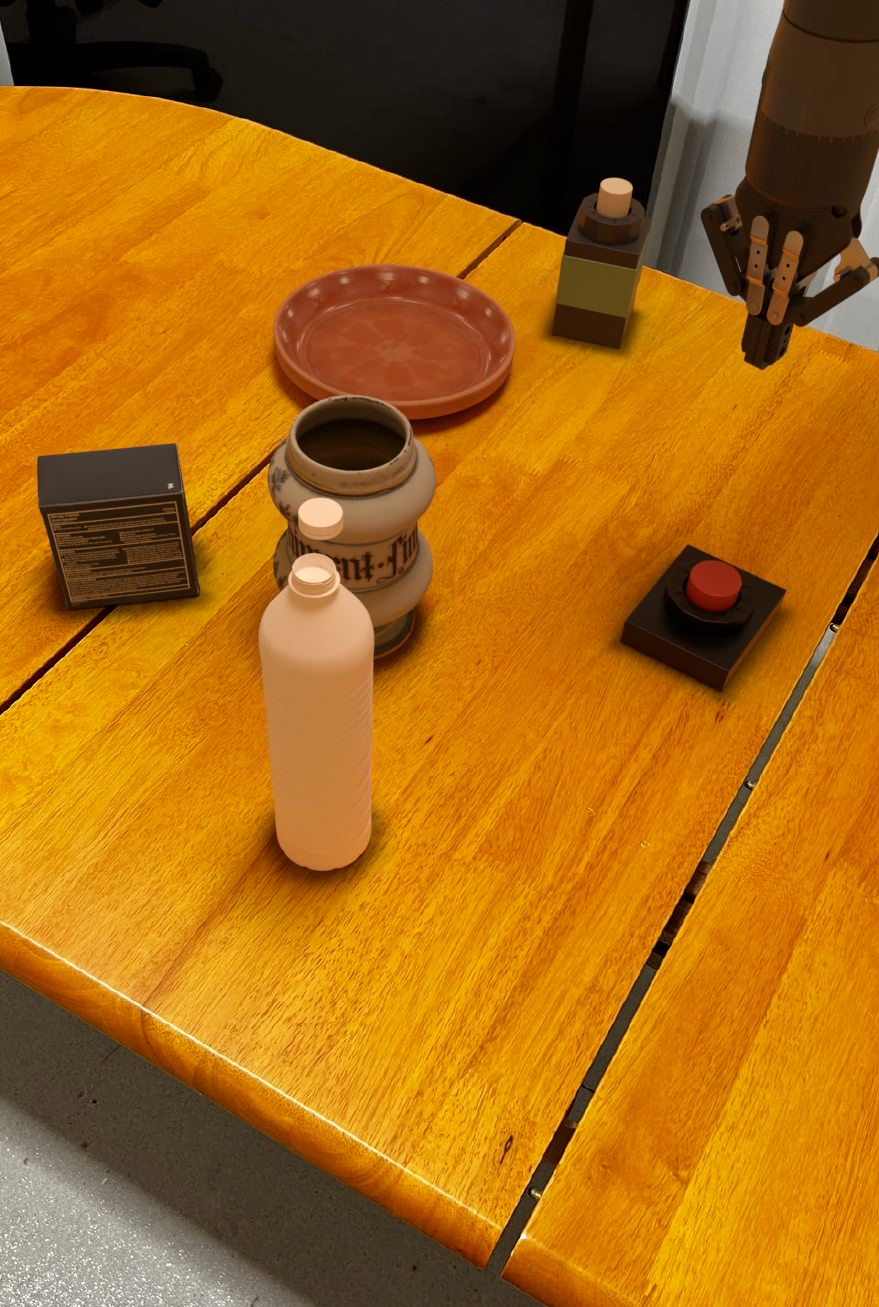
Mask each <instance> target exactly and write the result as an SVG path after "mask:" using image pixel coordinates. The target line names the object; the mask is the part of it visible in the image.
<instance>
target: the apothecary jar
mask: <svg viewBox="0 0 879 1307" xmlns="http://www.w3.org/2000/svg"><path fill="white" fill-rule="evenodd" d="M409 420H410V419H409ZM409 420H408V419H407V418H406V416H405V415H404V414H403V413H402V412H400V411H399V410H398V409H397V408H395V407H394V406H392V405H391V404H389V403H387V402H385V401H382V400H379V399H376V398H372V397H368V396H361V395H341V396H335V397H330V398H327V399H324V400H321V401H319V400H317V401H315V402H314V403H312V404H310V405H309V406H307V407H305V408H304V409H303V410H301V411H300V413H298V414H297V415H296V417H295V418H294V419H293V421H292V424H291V426H290V429H289V432H288V433H289V434H288V435H286V437H285V438H284V439H283V440H282V441H281V442H280V443H279V444H278V446H277V447H276V449H275V451H273V452H274V453H273V454H272V455H271V459H270V461H269V465H268V468H267V469H268V470H267V487H268V491H269V492H268V493H269V495H270V498H271V501H272V502H273V504H274V506H275V508H276V509H277V510H278V512H279V513H280V514H281V516H283V518H284V519H285V520H287V528H286V529H285V530H284V531H283V533H282V534H281V535H280V538H278V541H277V544H276V546H275V549H274V552H273V559H272V569H273V575H274V579H275V583H276V585H277V587H278V589H279V591H280V592H281V591H282V590H283V589H284V588H285V587H287V586H288V585H289V582H288V578H289V575H290V573H291V571H292V569H293V568H292V566H293V564H294V562H295V561H296V560H297V559H298V558H299V557H301V556H303V555H306V554H312V553H316V554H322V555H325V556H327V557H328V558H330V559H331V560H332V561H333V563H334V564H335V567H336V570H337V572H338V573H339V576H340V584H342V585H343V586H344V587H345V588H346V589H347V590H349V591H350V592H351V593H352V594H353V595H354V596H356V597H357V598H358V599H359V601H360V602H361V603H362V604H363V605H364V607H365V608H366V609H367V611H368V613H369V615H370V619H371V622H372V625H373V630H374V654H373V661H374V660H377V659H382V658H384V657H386V656H388V655H390V654H392V653H394V652H396V651H397V650H398V649H399V648H401V647H402V646H403V645H404V644H405V643H406V642H407V641H408V639H409V638H410V636H411V634H412V632H413V630H414V626H415V621H416V619H415V618H416V613H415V607H416V606H417V605H418V604H419V603H420V602H421V601H422V600H423V598H424V596H425V595H426V593H427V592H428V589H429V587H430V585H431V582H432V578H433V572H434V560H433V554H432V551H431V547H430V544H429V543H428V541H427V539H426V537H425V535H424V534H423V533H422V532H421V530H420V529H419V528H418V527H419V526H418V523H419V522H418V521H419V519H421V517H423V515H424V514H425V513H426V512H427V510H428V509H429V507H430V505H431V504H432V503H433V502H432V501H433V499H434V497H435V493H436V489H437V488H436V487H437V473H436V469H435V468H436V467H435V465H434V462H433V459H432V456H431V455H430V453H429V451H428V449H427V448H426V447H425V446H424V445H423V443H422V442H421V441H420V440H419V439H418V438H417V437H416V436H415V435H414V432H413V427H412V425H411V422H410V421H409ZM314 498H327V499H331V500H333V501H335V502H337V503H338V504H339V505H340V506H341V508H342V510H343V529H342V531H341V532H340V533H339V534H338V535H337V536H335V537H333V538H331V539H327V540H315V539H311V538H309V537H307V536H305V535H304V534H303V533H302V532H301V531H300V529H299V524H298V510H299V508H300V506H301V505H302V504H303V503H304V502H306V501H308V500H310V499H314ZM308 534H309V533H308ZM311 535H312V534H311ZM330 535H331V534H330ZM316 536H317V535H316ZM325 536H327V535H325Z"/></svg>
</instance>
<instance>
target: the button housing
mask: <svg viewBox="0 0 879 1307" xmlns="http://www.w3.org/2000/svg"><path fill="white" fill-rule="evenodd" d="M711 560H712V561H720V562H723V563H726V564H728V565H730V566H732V567H733V568H734V569H735V570H736V571H737V572H738V573H739V575H740V576H741V580H742V585H741V588H740V591H739V594H738V597H737V600H736V602H735V604H734V605H733V606H732V607H731V608H730V609H728V610H726V611H722V612H716V611H706V610H704V609H702V608H700V607H698V606H696V605H694V604H692V603H691V601H690V600H689V599H688V597H687V595H686V586H687V583H688V580H689V576H690V573H691V570H692V569H693V567H694V566H695V565H697V564H698V563H700V562H703V561H711ZM786 594H787V589H785V588H783V587H781V586H779V585H777V584H775V583H773V582H770V581H768V580H766V579H764V578H762V577H759V576H757V575H755V574H753V573H751V572H749V571H747V570H745V569H742V568H740V567H738V566H736V565H734V564H732V563H730V562H727V561H725V560H723V559H721V558H719V557H717V556H715V555H712V554H710V553H709V552H706V551H704V550H702V549H699V548H697V547H695V546H693V545H691V544H689V543H688V544H686V546H685V547H684V548H683V549H682V551H681V552H680V553H679V554H678V555H677V556H676V558H675V559H674V560H673V561H672V562H671V564H670V565H669V566H668V568H667V569H666V570H665V571H664V573H663V574H662V575H661V576H660V577H659V578H658V579H657V581H656V582H655V583H654V585H653V586H652V587H651V588H650V590H649V591H648V592H647V593H646V594H645V596H644V597H643V598H642V600H640V602H639V603H638V604H637V606H635V608H634V609H633V610H632V612H631V613H630V614H629V615H628V617H627V618H626V619H625V620H624V625H623V628H622V631H621V636H620V640H619V642H620V643H622V644H624V645H626V646H628V647H630V648H632V649H634V650H636V651H638V652H640V653H642V654H644V655H646V656H648V657H650V658H652V659H653V660H656V661H657V662H660V663H661V664H664V665H666V666H668V667H670V668H672V669H674V670H676V671H677V672H679V673H682V674H684V675H686V676H688V677H690V678H691V679H694V680H696V681H698V682H700V683H702V684H704V685H705V686H707V687H710V688H712V689H713V690H716V691H718V692H720V693H722V692H723V691H724V689H725V688H726V687H727V685H728V683H730V681H731V679H732V678H733V676H734V675H735V673H736V672H737V671H738V669H739V668H740V667H741V665H742V664H743V662H745V659H746V658H747V657H748V655H749V654H750V652H751V651H752V649H753V648H754V647H755V646H756V644H757V642H758V641H759V640H760V639H761V637H762V635H763V634H764V632H765V631H766V630H767V628H768V627H769V626H770V624H771V623H772V621H773V620H774V619H775V617H776V616H777V615H778V613H779V612H780V609H781V606H782V604H783V603H784V602H783V601H784V599H785V597H786Z"/></svg>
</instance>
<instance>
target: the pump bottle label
mask: <svg viewBox="0 0 879 1307" xmlns="http://www.w3.org/2000/svg"><path fill="white" fill-rule="evenodd" d="M649 237H650V232H648V235H647V238H646V241H645V244H644V247H643V250H642V253H641V256H640V259H639V262H638V265H637V268H636V269H630V268H625V267H620V266H616V265H611V264H606V263H601V262H596V261H591V260H586V259H581V258H576V257H571V256H566V255H564V252H563V253H562V255H561V261H560V267H559V268H560V269H559V276H558V281H557V282H558V283H557V288H556V296H555V304H556V303H557V304H561V305H566V306H571V307H576V308H581V309H586V310H590V311H595V312H600V313H605V314H610V315H614V316H619V317H624V318H627V317H628V314H629V311H630V308H631V305H632V302H633V299H634V296H635V293H636V294H637V291H636V290H638V286H639V283H640V281H641V276H642V271H643V267H644V262H645V257H646V253H647V248H648V247H647V246H648V242H649ZM635 297H636V296H635Z"/></svg>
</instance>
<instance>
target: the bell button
mask: <svg viewBox="0 0 879 1307" xmlns="http://www.w3.org/2000/svg"><path fill="white" fill-rule="evenodd" d="M741 585H742V580H741V576H740V575H739V573H738V572H737V571H736V570H735V569H734V568H733V567H732V566H730V565H728V564H726V563H723V562H720V561H712V560H711V561H703V562H700V563H698V564H697V565H695V566H694V567H693V569H692V570H691V573H690V576H689V580H688V583H687V586H686V595H687V597H688V599H689V600H690V601H691V603H692V604H694V605H696V606H698V607H700V608H702V609H704V610H706V611H716V612H722V611H726V610H728V609H730V608H731V607H732V606H733V605H734V604H735V602H736V600H737V597H738V594H739V591H740V588H741Z"/></svg>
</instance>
